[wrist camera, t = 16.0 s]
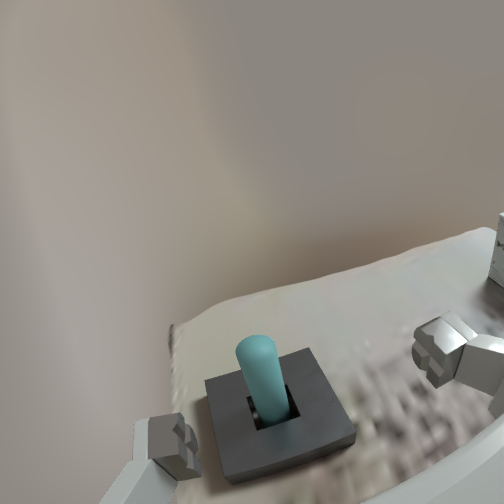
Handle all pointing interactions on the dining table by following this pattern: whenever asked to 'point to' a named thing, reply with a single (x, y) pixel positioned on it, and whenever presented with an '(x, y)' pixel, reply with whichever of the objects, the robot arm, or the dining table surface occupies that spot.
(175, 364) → the dining table surface
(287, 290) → the dining table surface
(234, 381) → the socket block
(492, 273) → the supplement box
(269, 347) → the peg
